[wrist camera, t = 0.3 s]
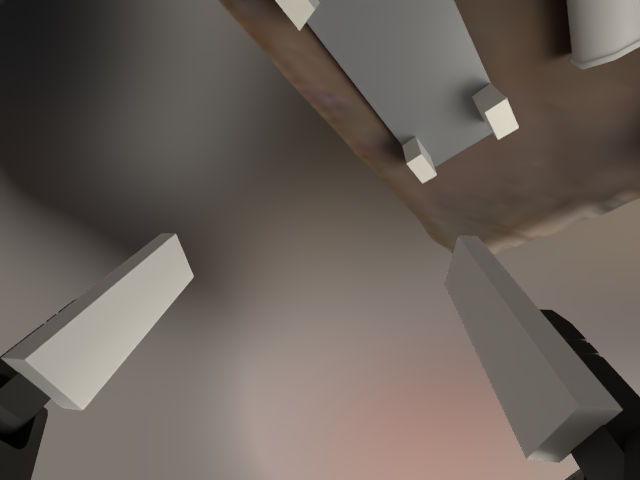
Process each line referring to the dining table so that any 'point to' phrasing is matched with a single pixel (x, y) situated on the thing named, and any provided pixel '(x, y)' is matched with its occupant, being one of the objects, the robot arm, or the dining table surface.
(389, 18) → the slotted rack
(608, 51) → the tube
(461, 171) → the dining table surface
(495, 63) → the dining table surface
